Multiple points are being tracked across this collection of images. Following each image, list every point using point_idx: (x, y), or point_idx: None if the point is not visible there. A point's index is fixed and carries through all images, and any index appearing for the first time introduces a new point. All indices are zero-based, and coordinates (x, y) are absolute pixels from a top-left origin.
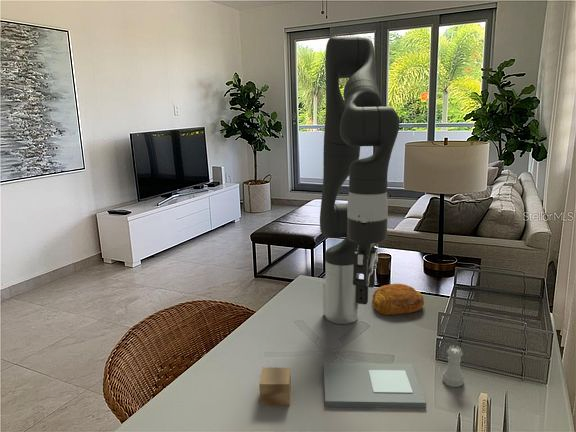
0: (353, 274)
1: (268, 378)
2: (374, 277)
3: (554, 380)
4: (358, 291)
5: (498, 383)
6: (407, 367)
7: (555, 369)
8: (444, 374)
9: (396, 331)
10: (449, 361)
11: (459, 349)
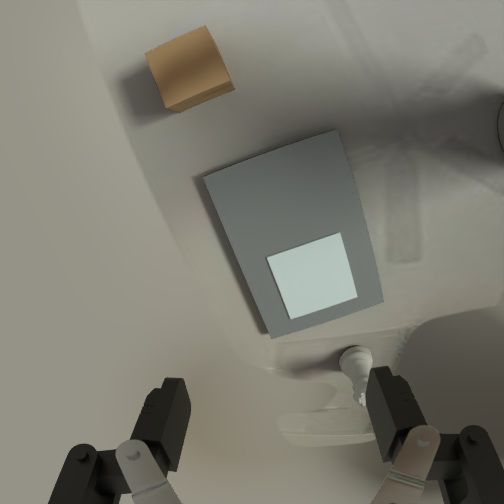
0: (55, 487)
1: (169, 58)
2: (376, 434)
3: None
4: (137, 427)
5: None
6: (370, 298)
7: None
8: (354, 356)
9: (493, 248)
10: (359, 378)
11: None
